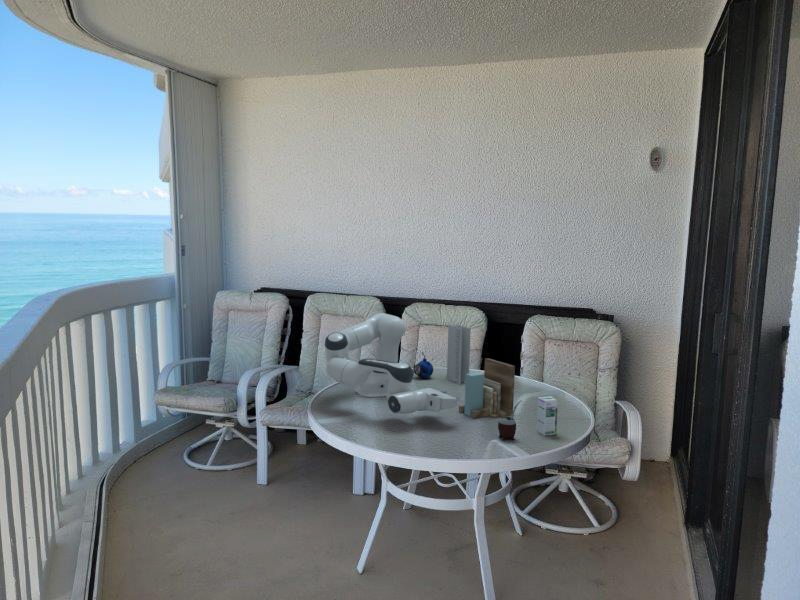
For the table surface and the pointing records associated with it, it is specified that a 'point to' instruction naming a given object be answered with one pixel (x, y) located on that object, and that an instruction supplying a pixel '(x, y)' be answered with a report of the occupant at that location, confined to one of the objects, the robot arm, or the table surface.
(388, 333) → the robot arm
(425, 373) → the bomb
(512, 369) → the offcut rack
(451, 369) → the brochure
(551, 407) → the syrup box
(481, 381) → the light blue tall block
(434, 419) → the table surface
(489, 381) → the offcut stack
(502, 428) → the mate gourd
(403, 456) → the table surface
